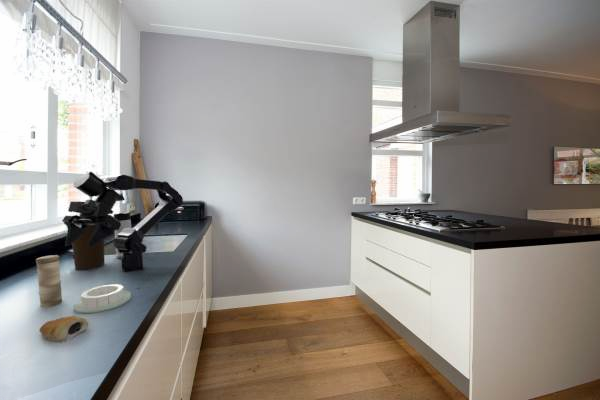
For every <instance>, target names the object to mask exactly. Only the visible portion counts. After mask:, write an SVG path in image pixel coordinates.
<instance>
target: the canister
mask: <svg viewBox="0 0 600 400" xmlns="http://www.w3.org/2000/svg"><path fill="white" fill-rule="evenodd" d="M35 263H36V272H37V281H38V282H37V285H38V291H39V294H38V295H39V302H40V303H39V304H40V308H49V307H53V306H57V305H59V304H61V303H62V302H63V296H62V285H61V284H62V282H61V271H60V270H61V269H60V255H57V254H55V255H54V254H53V255H52V254H51V255H45V256H41V257H38V258H36V259H35Z"/></svg>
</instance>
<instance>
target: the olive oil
mask: <svg viewBox="0 0 600 400" xmlns="http://www.w3.org/2000/svg"><path fill="white" fill-rule="evenodd" d="M78 216H79V217H81V218H83V219H84V218H85V217H82V216H80V215H78ZM84 230H85V231H84V232H83V233H82V234H81V235H80V236H79V237H78V238H77V239H76V240H75V241H74V242H73V243H72V244H71V245H72V253H73V254H72V259H73V261H74V269H75V270H78V271H83V270H85V271H86V270H92V269H97V268H100V267H102V266H104V265H105V261H106V260H105V237H104V238H103V239H101V240H100V241H98V242H97V243H95V244H94V245H93V246H91V247H89V246H87V244H88V242H89V240H90V238H91V236H92V234H93V232H94V230H95V225H88V226H87V228H85V229H84Z"/></svg>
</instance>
